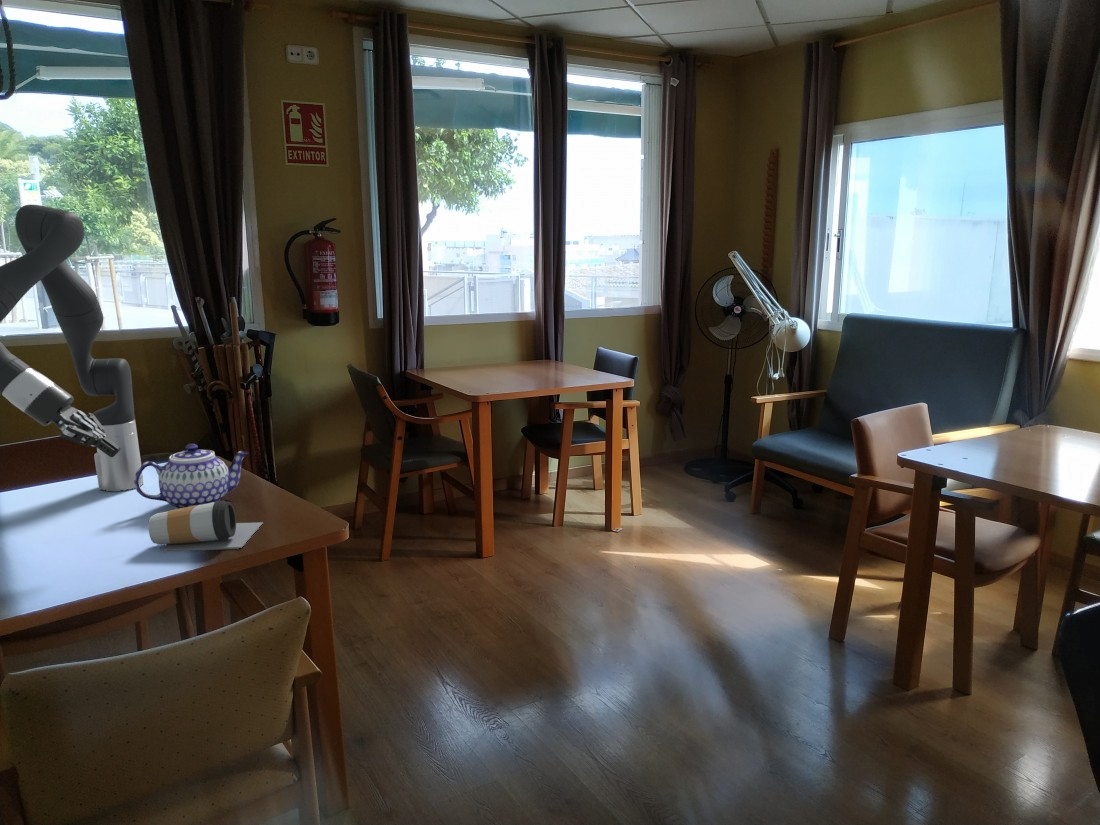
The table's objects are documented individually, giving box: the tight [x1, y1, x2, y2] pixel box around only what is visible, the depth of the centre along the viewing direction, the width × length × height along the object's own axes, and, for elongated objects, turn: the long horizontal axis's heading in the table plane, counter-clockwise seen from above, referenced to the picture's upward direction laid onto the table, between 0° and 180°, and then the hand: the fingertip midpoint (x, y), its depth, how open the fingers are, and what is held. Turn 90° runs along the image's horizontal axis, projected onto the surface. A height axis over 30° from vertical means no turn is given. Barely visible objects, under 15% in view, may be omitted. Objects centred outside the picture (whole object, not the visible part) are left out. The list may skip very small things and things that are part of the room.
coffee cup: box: [148, 499, 237, 546], centre depth 153 cm, size 8×8×15 cm
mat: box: [160, 521, 264, 552], centre depth 158 cm, size 16×14×1 cm
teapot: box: [134, 443, 249, 510], centre depth 177 cm, size 25×15×15 cm, turn 121°
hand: (116, 453), depth 149 cm, fingers closed
